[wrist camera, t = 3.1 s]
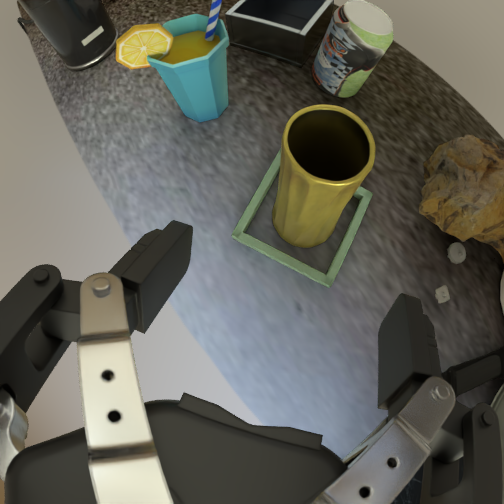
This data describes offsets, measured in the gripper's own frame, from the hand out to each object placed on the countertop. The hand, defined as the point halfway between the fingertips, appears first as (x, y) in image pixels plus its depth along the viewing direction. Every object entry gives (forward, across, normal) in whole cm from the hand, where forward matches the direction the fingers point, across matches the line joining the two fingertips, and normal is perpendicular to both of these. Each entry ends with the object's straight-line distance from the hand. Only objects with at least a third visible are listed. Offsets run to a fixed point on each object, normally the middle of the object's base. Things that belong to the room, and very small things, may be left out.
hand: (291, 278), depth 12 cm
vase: (+18, 0, +7) cm, 20 cm away
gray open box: (+35, +9, -10) cm, 38 cm away
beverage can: (+31, 0, -5) cm, 31 cm away
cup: (+26, +13, 0) cm, 29 cm away
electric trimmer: (+13, -31, +8) cm, 35 cm away
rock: (+14, -20, +4) cm, 25 cm away
